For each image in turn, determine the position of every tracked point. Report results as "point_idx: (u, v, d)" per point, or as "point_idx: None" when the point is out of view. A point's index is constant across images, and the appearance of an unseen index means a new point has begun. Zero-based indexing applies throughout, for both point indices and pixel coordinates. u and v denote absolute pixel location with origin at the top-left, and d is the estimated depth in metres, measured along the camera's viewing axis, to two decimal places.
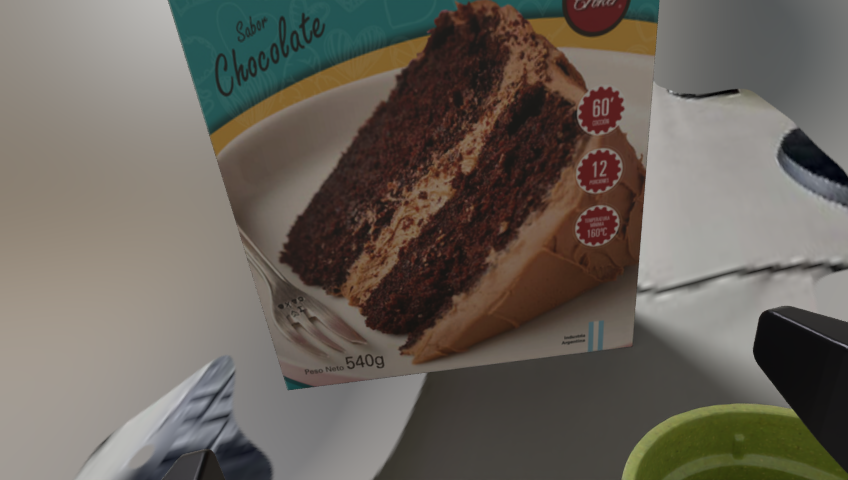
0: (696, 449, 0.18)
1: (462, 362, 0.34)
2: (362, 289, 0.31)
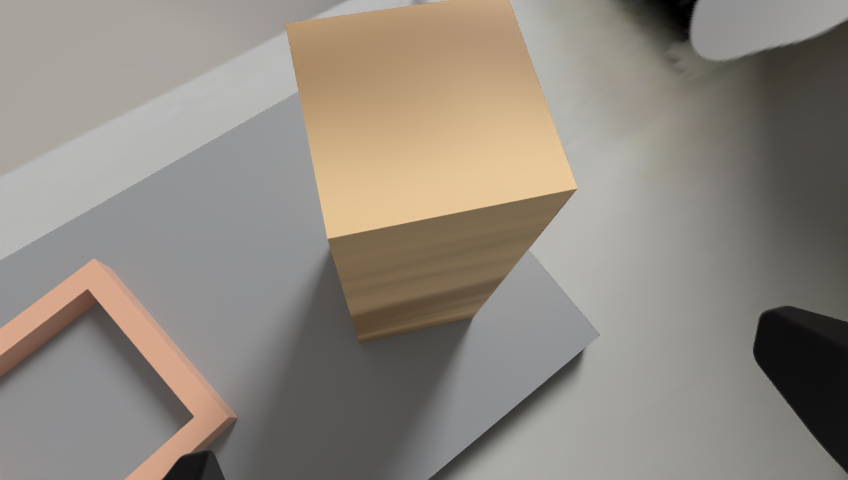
0: None
1: None
2: None
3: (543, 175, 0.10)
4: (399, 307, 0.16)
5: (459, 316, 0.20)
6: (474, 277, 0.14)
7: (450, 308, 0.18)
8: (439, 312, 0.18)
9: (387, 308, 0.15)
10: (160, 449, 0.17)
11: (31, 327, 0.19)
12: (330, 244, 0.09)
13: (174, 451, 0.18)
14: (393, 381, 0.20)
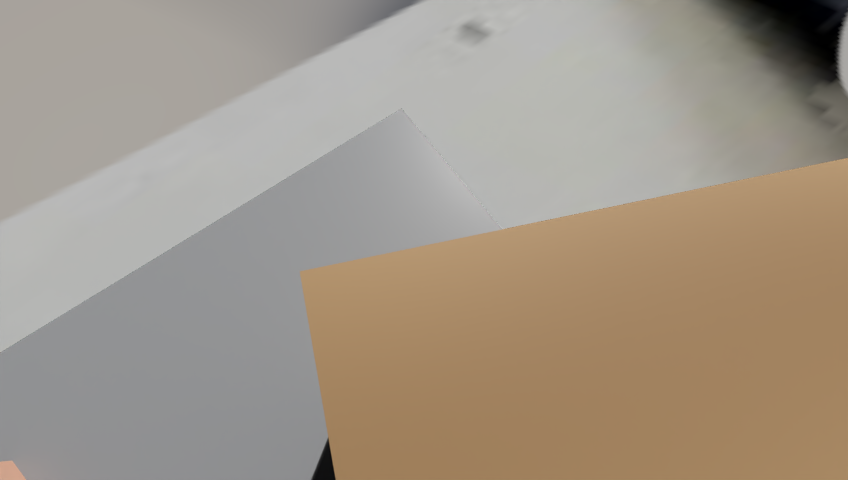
0: None
1: None
2: None
3: None
4: None
5: None
6: None
7: None
8: None
9: None
10: None
11: None
12: None
13: None
14: None
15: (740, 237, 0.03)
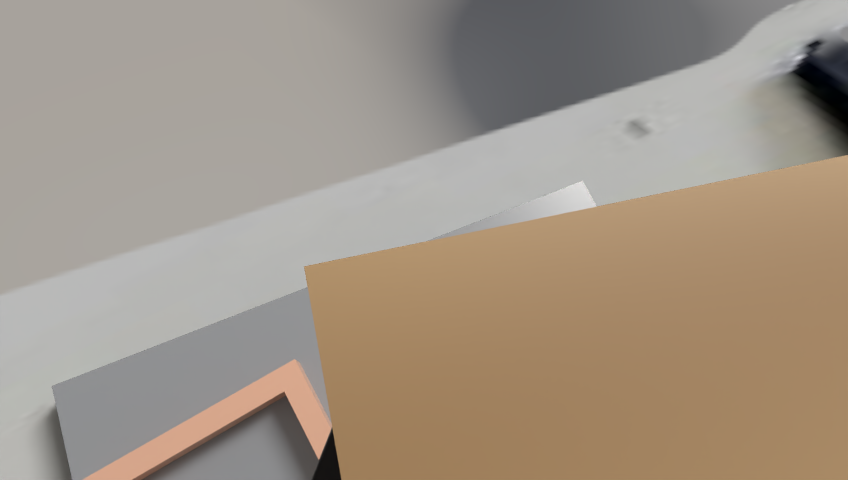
0: None
1: None
2: None
3: None
4: None
5: None
6: None
7: None
8: None
9: None
10: None
11: (224, 421, 0.18)
12: None
13: None
14: None
15: (743, 234, 0.03)
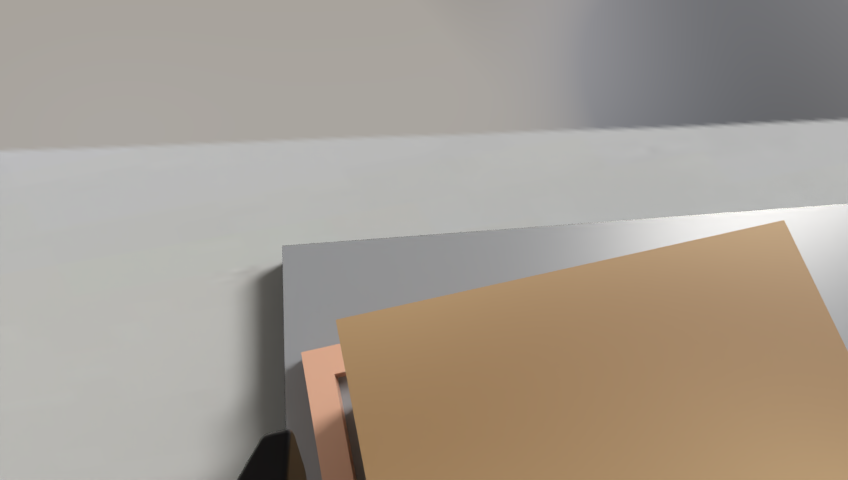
0: None
1: None
2: None
3: None
4: None
5: None
6: None
7: None
8: None
9: None
10: None
11: None
12: None
13: None
14: None
15: (606, 296, 0.05)
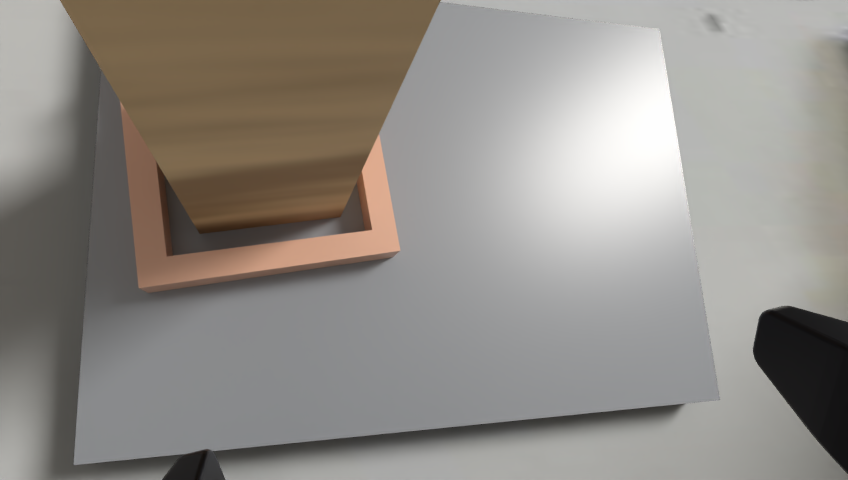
0: None
1: None
2: None
3: None
4: (235, 178, 0.13)
5: (322, 211, 0.17)
6: (327, 144, 0.12)
7: (307, 195, 0.15)
8: (294, 199, 0.15)
9: (218, 177, 0.12)
10: (329, 237, 0.17)
11: None
12: (64, 3, 0.06)
13: (340, 247, 0.17)
14: (534, 317, 0.19)
15: None
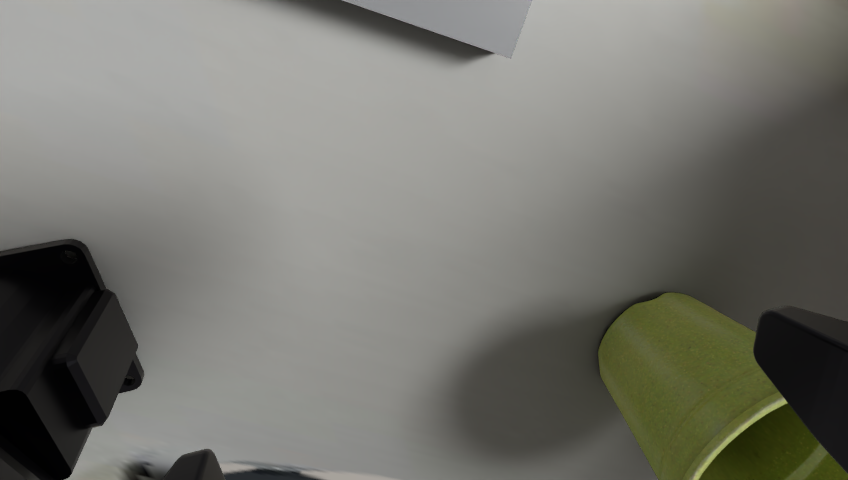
0: None
1: None
2: None
3: None
4: None
5: None
6: None
7: None
8: None
9: None
10: None
11: None
12: None
13: None
14: None
15: None
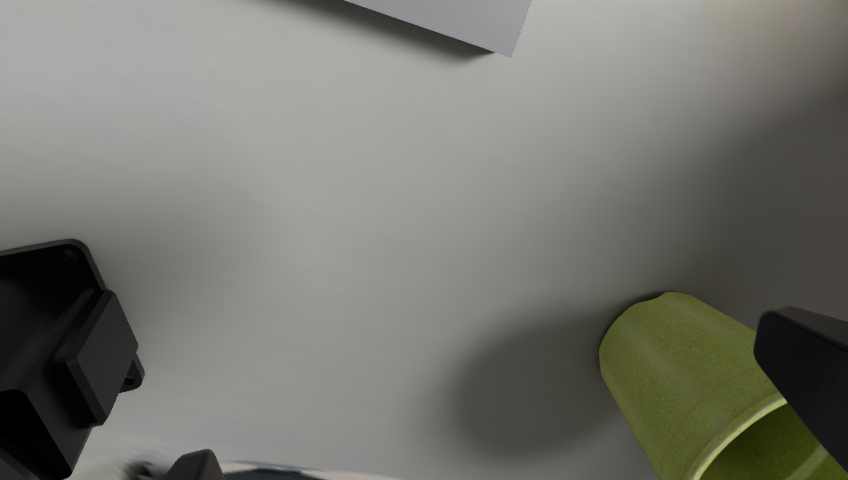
0: None
1: None
2: None
3: None
4: None
5: None
6: None
7: None
8: None
9: None
10: None
11: None
12: None
13: None
14: None
15: None
